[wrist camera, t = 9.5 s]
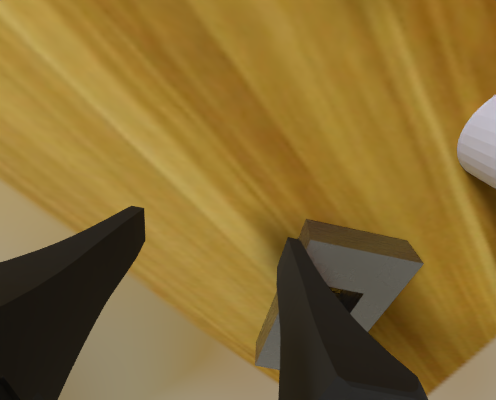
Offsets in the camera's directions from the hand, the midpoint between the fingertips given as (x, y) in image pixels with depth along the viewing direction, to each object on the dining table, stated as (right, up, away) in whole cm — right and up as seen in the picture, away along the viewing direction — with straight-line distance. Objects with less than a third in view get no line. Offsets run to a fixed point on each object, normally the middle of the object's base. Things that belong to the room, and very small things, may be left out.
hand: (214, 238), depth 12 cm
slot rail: (+10, -10, +17) cm, 22 cm away
